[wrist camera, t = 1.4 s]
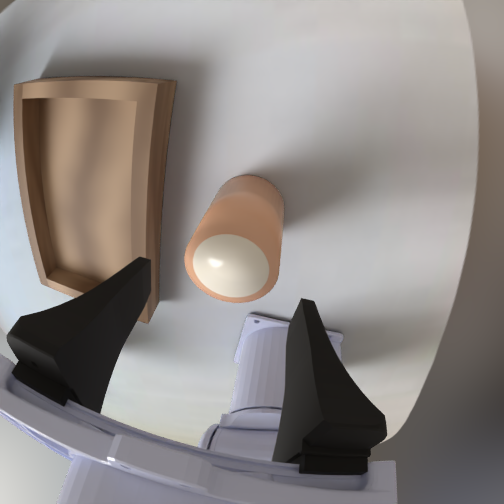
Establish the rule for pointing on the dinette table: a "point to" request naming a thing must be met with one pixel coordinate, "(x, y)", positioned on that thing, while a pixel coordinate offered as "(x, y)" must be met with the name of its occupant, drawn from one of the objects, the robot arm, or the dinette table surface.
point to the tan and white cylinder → (238, 241)
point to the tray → (92, 176)
